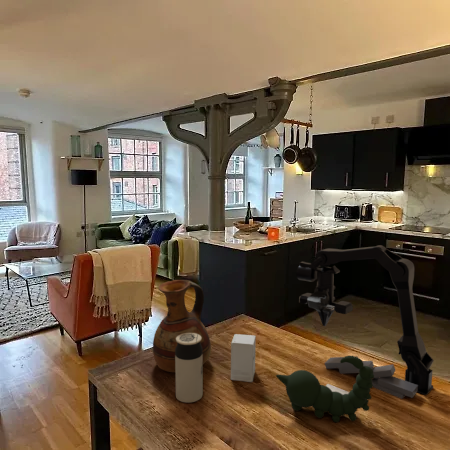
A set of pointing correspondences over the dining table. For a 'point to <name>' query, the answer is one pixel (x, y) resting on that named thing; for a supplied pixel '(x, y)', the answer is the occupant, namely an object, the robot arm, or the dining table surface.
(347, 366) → the tile
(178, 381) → the travel mug
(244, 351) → the supplement box
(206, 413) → the dining table surface
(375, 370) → the tile
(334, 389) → the tile
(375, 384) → the tile
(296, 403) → the toy figurine
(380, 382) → the grey block
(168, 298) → the ceramic pitcher
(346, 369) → the tile
